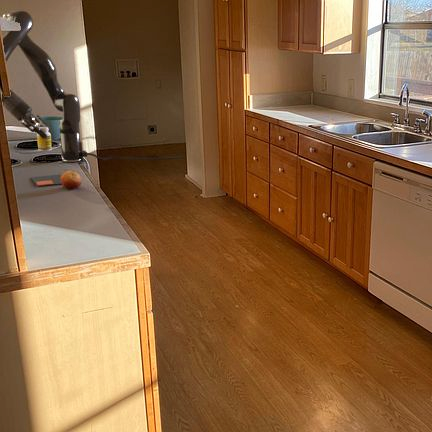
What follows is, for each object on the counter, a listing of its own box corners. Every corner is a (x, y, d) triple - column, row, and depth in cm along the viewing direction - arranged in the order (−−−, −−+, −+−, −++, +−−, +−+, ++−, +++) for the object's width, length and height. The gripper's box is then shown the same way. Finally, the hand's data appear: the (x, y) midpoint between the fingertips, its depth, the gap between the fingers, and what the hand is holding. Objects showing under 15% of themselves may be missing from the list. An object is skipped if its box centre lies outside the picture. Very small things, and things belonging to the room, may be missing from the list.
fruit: (68, 180, 242) (74, 166, 238) (81, 192, 240) (86, 177, 236) (53, 184, 235) (58, 170, 231) (66, 196, 233) (72, 181, 230)
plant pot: (33, 137, 341) (31, 116, 338) (65, 135, 350) (63, 115, 346) (36, 142, 326) (34, 121, 322) (69, 140, 335) (68, 119, 331)
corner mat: (69, 174, 258) (69, 173, 258) (77, 182, 245) (77, 181, 245) (31, 178, 250) (31, 177, 250) (37, 186, 237) (37, 185, 237)
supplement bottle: (47, 151, 242) (45, 128, 239) (35, 150, 243) (33, 128, 240) (54, 149, 247) (52, 127, 244) (43, 148, 248) (41, 126, 245)
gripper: (15, 102, 232) (47, 132, 236) (29, 99, 245) (60, 127, 249) (3, 115, 233) (35, 145, 237) (18, 110, 247) (49, 139, 251)
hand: (48, 135), depth 243 cm, fingers closed on supplement bottle, 5 cm apart
